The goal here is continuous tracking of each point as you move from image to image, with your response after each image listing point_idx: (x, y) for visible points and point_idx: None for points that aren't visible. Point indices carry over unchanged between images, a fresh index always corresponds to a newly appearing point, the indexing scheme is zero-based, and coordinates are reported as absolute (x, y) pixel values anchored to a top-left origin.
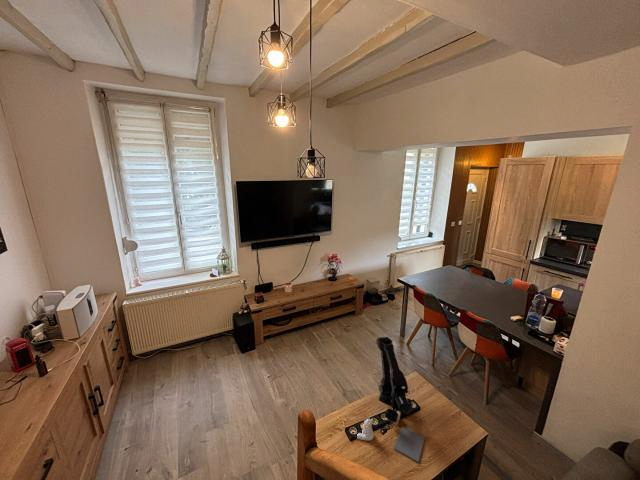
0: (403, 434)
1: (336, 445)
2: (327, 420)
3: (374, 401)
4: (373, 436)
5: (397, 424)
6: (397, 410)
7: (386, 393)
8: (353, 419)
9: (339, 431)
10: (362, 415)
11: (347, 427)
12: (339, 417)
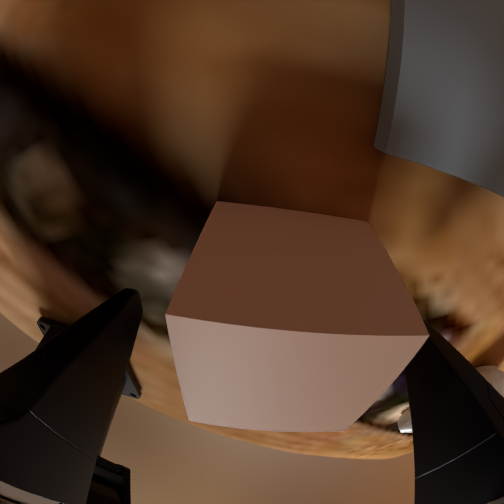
0: (501, 135)
1: None
2: (382, 458)
3: (176, 409)
4: (502, 381)
5: (366, 230)
6: (132, 306)
7: (100, 500)
8: (366, 439)
9: None
10: (330, 432)
11: (410, 434)
12: (364, 454)
